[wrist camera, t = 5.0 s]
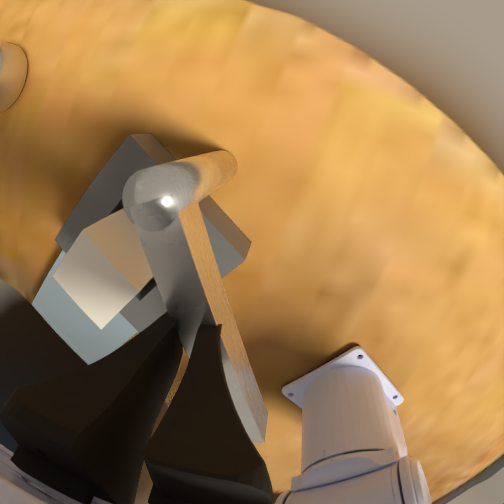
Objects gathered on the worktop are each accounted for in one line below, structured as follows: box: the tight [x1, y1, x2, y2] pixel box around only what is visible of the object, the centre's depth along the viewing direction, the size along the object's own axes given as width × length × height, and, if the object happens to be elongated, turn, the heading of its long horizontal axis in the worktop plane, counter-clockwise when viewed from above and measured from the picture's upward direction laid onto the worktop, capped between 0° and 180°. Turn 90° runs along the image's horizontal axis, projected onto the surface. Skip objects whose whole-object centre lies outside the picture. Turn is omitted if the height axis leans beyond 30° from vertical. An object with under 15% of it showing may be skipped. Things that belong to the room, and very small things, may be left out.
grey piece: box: [122, 150, 268, 443], centre depth 16 cm, size 13×2×10 cm, turn 14°
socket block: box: [55, 133, 251, 333], centre depth 20 cm, size 10×10×3 cm
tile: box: [32, 250, 138, 365], centre depth 24 cm, size 9×9×2 cm
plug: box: [53, 208, 153, 329], centre depth 17 cm, size 4×4×8 cm
